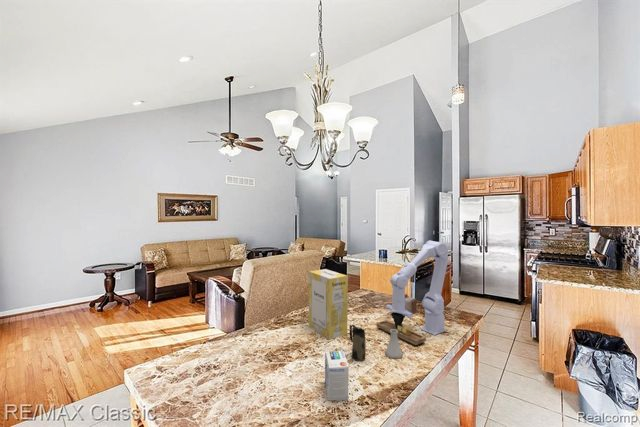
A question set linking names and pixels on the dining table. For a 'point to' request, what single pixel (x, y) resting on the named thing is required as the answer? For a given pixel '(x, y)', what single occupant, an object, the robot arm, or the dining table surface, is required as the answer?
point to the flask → (393, 346)
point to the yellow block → (405, 329)
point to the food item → (410, 304)
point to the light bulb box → (336, 375)
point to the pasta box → (328, 302)
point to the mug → (358, 343)
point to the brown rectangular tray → (412, 338)
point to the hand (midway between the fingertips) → (398, 328)
